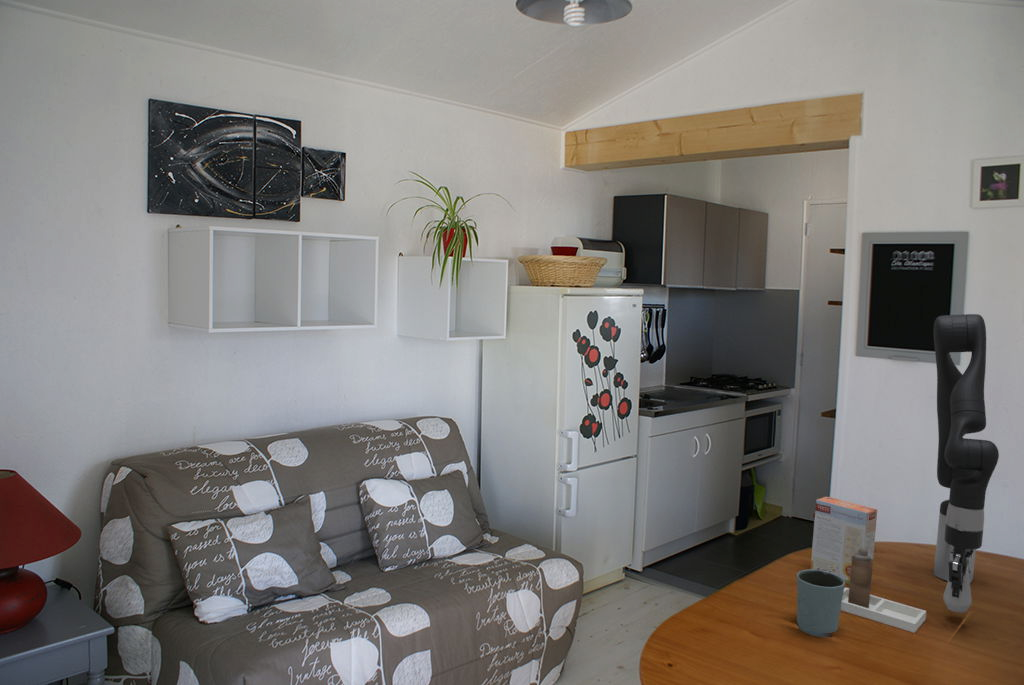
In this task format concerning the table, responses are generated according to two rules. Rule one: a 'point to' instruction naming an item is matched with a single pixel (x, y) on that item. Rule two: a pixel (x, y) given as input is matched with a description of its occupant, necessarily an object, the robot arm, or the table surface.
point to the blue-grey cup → (819, 601)
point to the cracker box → (841, 535)
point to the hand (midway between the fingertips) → (957, 595)
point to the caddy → (886, 612)
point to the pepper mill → (860, 578)
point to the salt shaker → (964, 596)
